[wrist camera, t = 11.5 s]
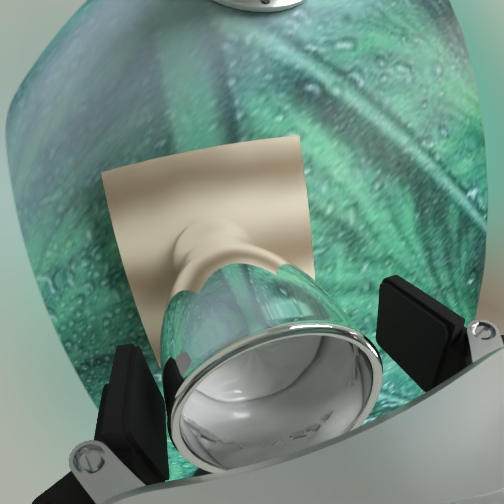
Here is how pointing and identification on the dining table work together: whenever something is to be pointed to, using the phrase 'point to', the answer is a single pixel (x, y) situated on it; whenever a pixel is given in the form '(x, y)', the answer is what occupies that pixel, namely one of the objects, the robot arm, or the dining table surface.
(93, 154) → the dining table surface
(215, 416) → the beer glass
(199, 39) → the dining table surface
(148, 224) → the plate
